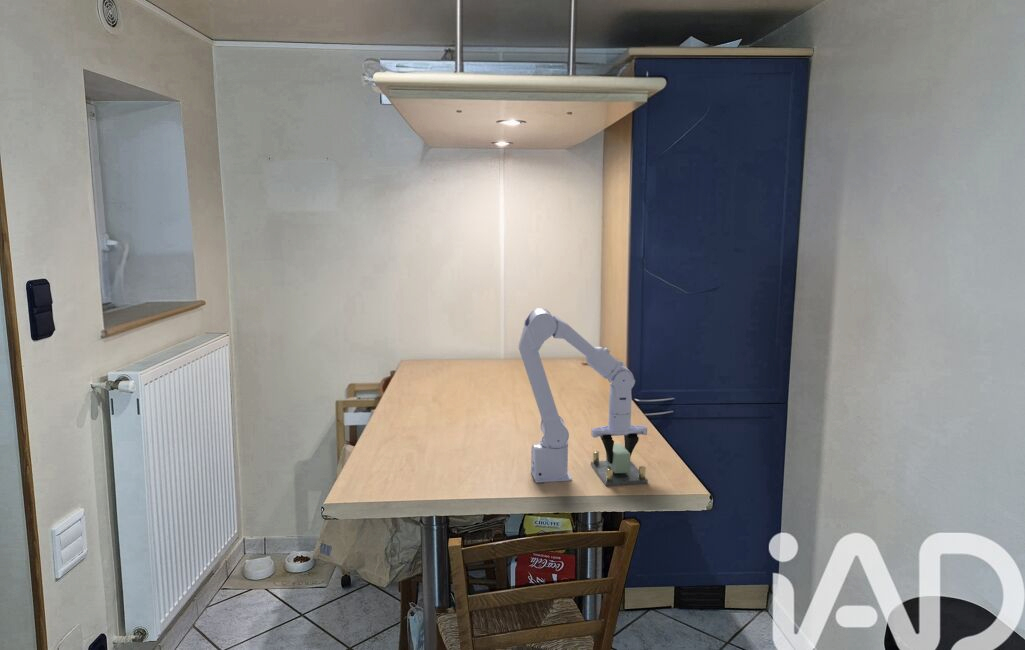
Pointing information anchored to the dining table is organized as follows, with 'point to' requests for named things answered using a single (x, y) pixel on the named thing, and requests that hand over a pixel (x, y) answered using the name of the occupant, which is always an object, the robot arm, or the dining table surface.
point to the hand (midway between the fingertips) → (618, 461)
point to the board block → (620, 459)
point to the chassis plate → (618, 478)
